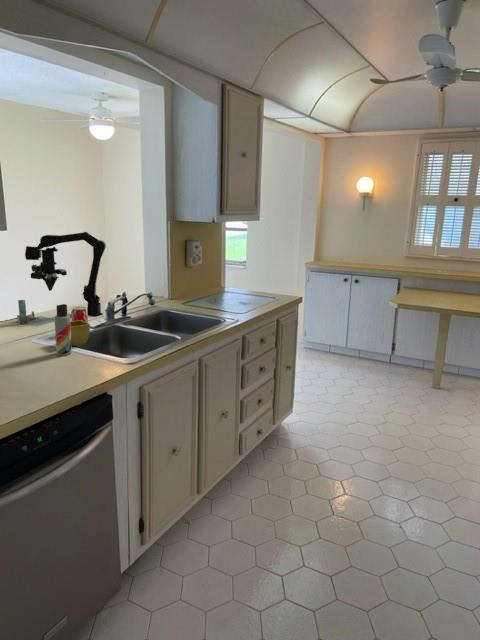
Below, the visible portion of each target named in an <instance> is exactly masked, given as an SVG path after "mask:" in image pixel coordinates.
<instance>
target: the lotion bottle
mask: <svg viewBox="0 0 480 640" xmlns="http://www.w3.org/2000/svg"><path fill="white" fill-rule="evenodd" d="M55 308H56V315H55V316H54V319H55V322H54V331H55V332H54V333H55V348H56V350H55V351H56V354H57V356H60V357H62V356H69V355H71V354H72V353H73V347H72V346H73V345H72V342H71V323H70V322H71V315H69V314H68V305H67V303H62V304H58V305H56V307H55Z"/></svg>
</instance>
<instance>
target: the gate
mask: <svg viewBox="0 0 480 640" xmlns="http://www.w3.org/2000/svg"><path fill="white" fill-rule="evenodd" d="M17 302H18V315H19V316H20V323H19V324H23V325H26V324H25V323H27V321H28V320H30V319H33V315H32V313H31V314H28V315H27V308H26V307H27V305H26V304H27V303H26V300H25V299H19V300H18V301H17Z"/></svg>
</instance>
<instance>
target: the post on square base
mask: <svg viewBox="0 0 480 640" xmlns="http://www.w3.org/2000/svg"><path fill="white" fill-rule="evenodd" d="M31 315H33V319H30V320H37V319H39V318H37V317H38V316H35V311H31Z"/></svg>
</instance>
